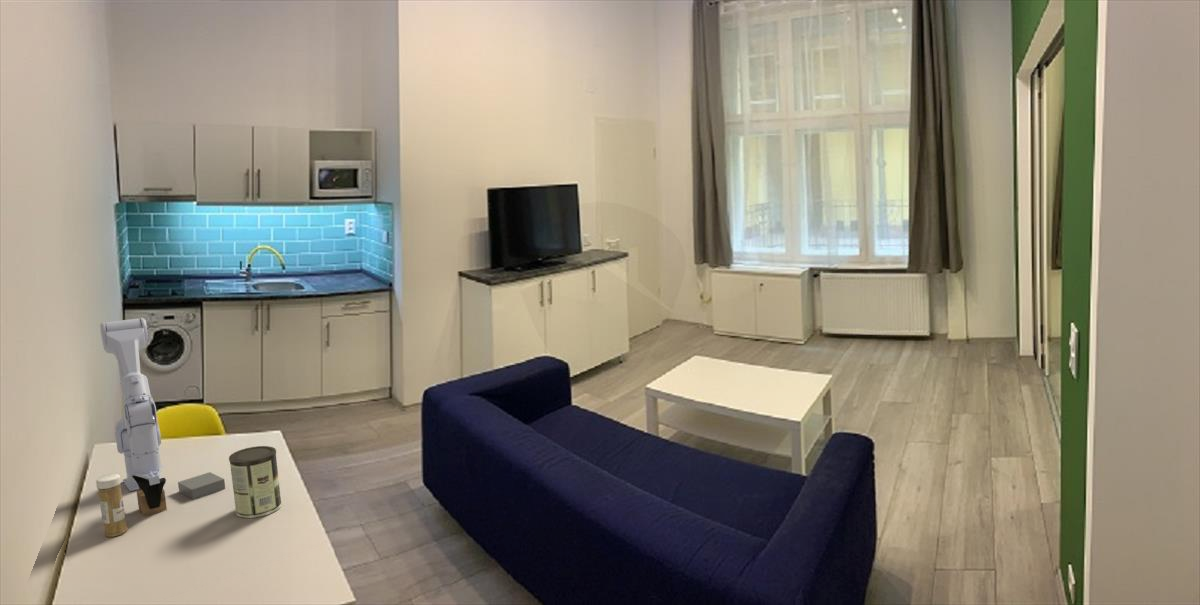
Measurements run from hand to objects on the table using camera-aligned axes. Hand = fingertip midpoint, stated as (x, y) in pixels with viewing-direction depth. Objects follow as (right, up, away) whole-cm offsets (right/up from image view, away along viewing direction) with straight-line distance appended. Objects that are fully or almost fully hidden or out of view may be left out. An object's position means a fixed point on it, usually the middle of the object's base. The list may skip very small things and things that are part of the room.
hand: (152, 504), depth 185 cm
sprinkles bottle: (-1, -4, -11) cm, 12 cm away
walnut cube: (0, -1, 0) cm, 1 cm away
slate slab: (+6, 0, +11) cm, 13 cm away
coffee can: (+26, -1, -1) cm, 26 cm away
